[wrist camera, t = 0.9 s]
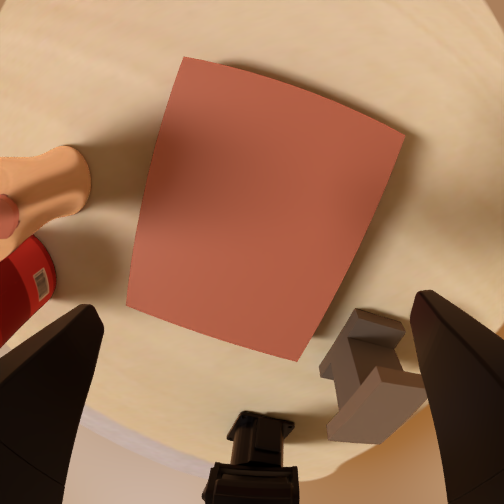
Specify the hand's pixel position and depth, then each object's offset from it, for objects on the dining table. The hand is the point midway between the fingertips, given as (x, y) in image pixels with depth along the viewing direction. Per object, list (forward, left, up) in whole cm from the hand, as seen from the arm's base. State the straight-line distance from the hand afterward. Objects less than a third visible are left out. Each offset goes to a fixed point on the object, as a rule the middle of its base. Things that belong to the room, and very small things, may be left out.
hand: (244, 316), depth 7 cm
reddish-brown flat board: (-2, 0, -14) cm, 14 cm away
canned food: (-14, +20, -14) cm, 28 cm away
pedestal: (-10, -13, -14) cm, 21 cm away
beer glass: (-4, +16, -14) cm, 22 cm away
